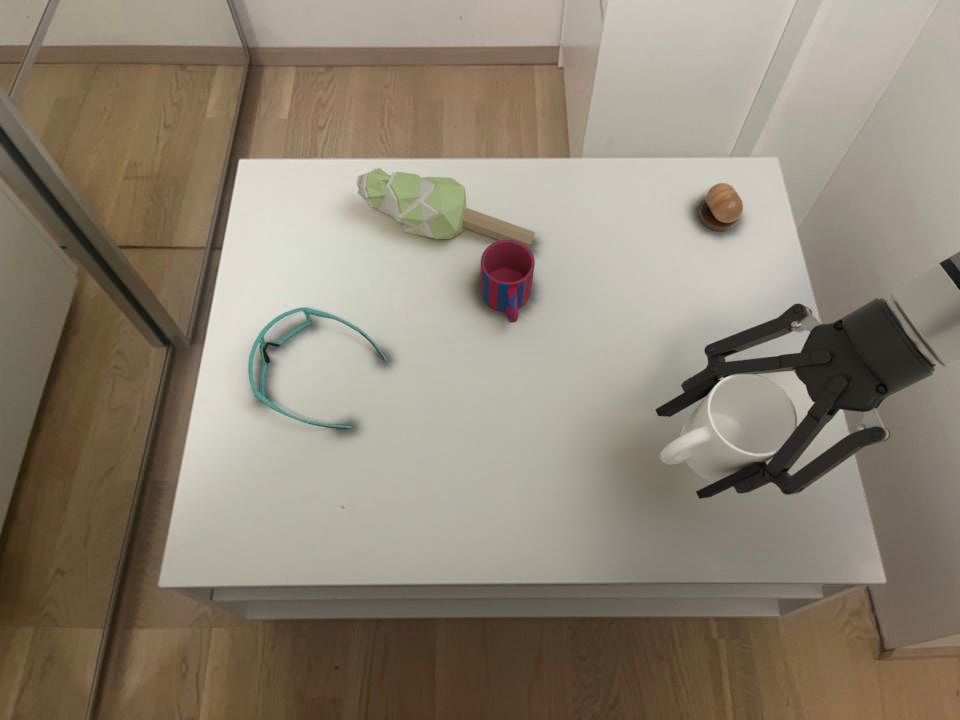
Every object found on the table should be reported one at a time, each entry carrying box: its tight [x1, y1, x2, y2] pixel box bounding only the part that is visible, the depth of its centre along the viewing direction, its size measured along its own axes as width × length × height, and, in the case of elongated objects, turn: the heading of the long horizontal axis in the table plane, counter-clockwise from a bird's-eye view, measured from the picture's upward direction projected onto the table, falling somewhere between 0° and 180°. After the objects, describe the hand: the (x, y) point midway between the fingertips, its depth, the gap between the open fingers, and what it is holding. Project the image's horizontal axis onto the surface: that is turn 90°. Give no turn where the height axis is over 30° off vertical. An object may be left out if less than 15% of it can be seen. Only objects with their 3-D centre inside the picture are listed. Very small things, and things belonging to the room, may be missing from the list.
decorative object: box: [356, 167, 536, 249], centre depth 90 cm, size 9×10×25 cm
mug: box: [659, 374, 798, 483], centre depth 66 cm, size 12×8×10 cm
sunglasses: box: [247, 307, 388, 430], centre depth 82 cm, size 14×15×5 cm
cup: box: [480, 240, 536, 323], centre depth 85 cm, size 7×10×7 cm
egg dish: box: [698, 182, 744, 232], centre depth 92 cm, size 6×5×5 cm
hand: (682, 452), depth 67 cm, fingers closed on mug, 8 cm apart
